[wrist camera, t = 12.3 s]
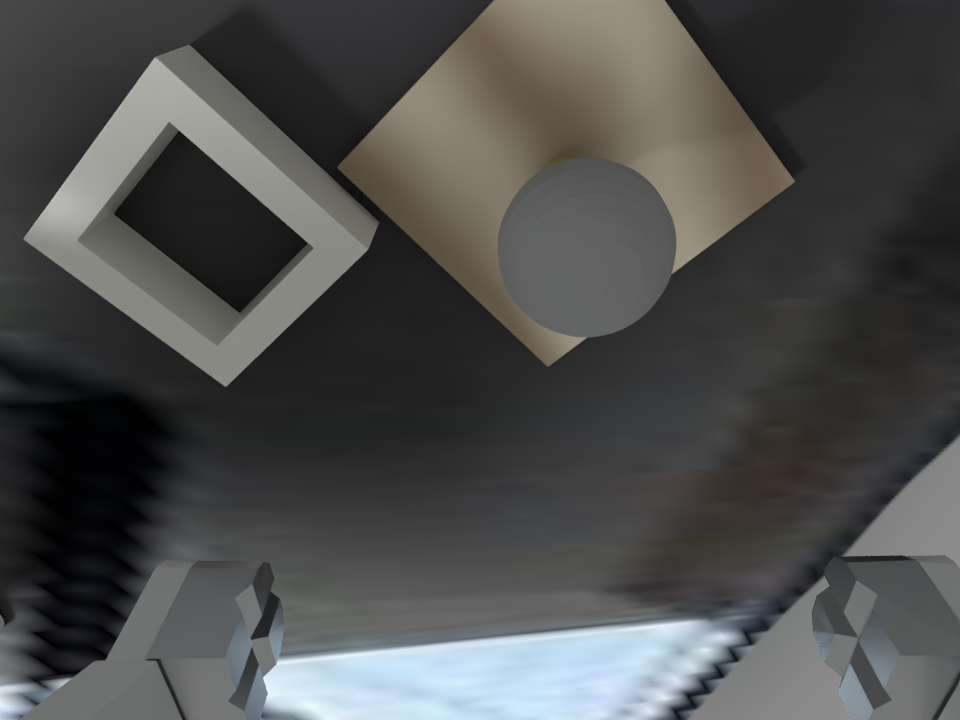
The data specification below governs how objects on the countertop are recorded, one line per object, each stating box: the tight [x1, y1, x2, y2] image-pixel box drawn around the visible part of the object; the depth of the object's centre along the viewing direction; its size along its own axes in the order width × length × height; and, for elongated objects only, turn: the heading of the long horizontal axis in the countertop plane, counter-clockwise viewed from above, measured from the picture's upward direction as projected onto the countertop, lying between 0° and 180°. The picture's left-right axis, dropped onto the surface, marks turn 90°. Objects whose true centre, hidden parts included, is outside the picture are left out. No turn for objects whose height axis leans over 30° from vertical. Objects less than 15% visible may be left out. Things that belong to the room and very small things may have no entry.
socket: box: [24, 45, 379, 387], centre depth 28 cm, size 10×10×3 cm
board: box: [337, 0, 795, 367], centre depth 27 cm, size 13×13×1 cm
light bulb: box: [497, 157, 676, 337], centre depth 23 cm, size 6×5×10 cm
